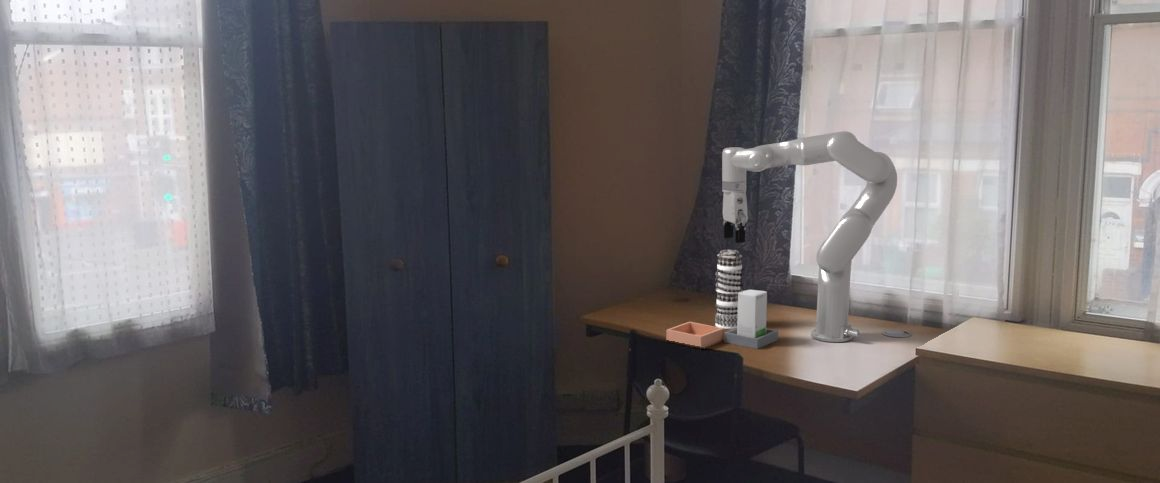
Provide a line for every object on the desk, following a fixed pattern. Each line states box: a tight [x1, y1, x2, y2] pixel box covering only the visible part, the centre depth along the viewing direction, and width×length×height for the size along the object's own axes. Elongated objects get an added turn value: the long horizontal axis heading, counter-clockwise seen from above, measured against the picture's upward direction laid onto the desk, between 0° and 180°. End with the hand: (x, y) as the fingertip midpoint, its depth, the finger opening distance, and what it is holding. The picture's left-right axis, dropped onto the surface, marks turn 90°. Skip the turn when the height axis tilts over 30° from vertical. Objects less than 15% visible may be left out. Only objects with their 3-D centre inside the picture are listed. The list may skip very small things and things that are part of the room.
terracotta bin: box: [665, 321, 725, 348], centre depth 284 cm, size 13×13×4 cm
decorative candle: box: [714, 249, 745, 330], centre depth 300 cm, size 9×9×25 cm
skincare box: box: [737, 289, 768, 338], centre depth 283 cm, size 8×7×16 cm
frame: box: [723, 327, 779, 350], centre depth 284 cm, size 12×13×3 cm
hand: (734, 240), depth 294 cm, fingers open, 9 cm apart
